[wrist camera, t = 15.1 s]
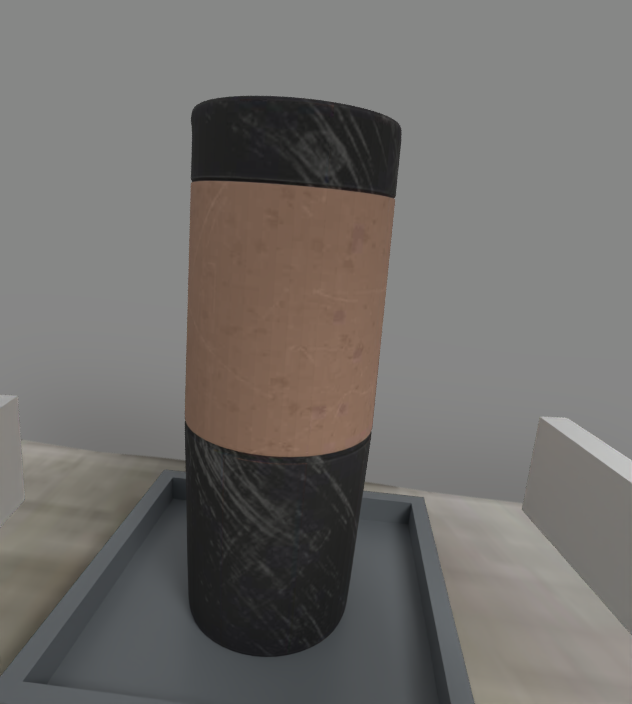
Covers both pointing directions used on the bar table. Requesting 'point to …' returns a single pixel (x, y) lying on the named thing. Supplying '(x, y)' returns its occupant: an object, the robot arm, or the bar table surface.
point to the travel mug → (282, 359)
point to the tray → (231, 667)
